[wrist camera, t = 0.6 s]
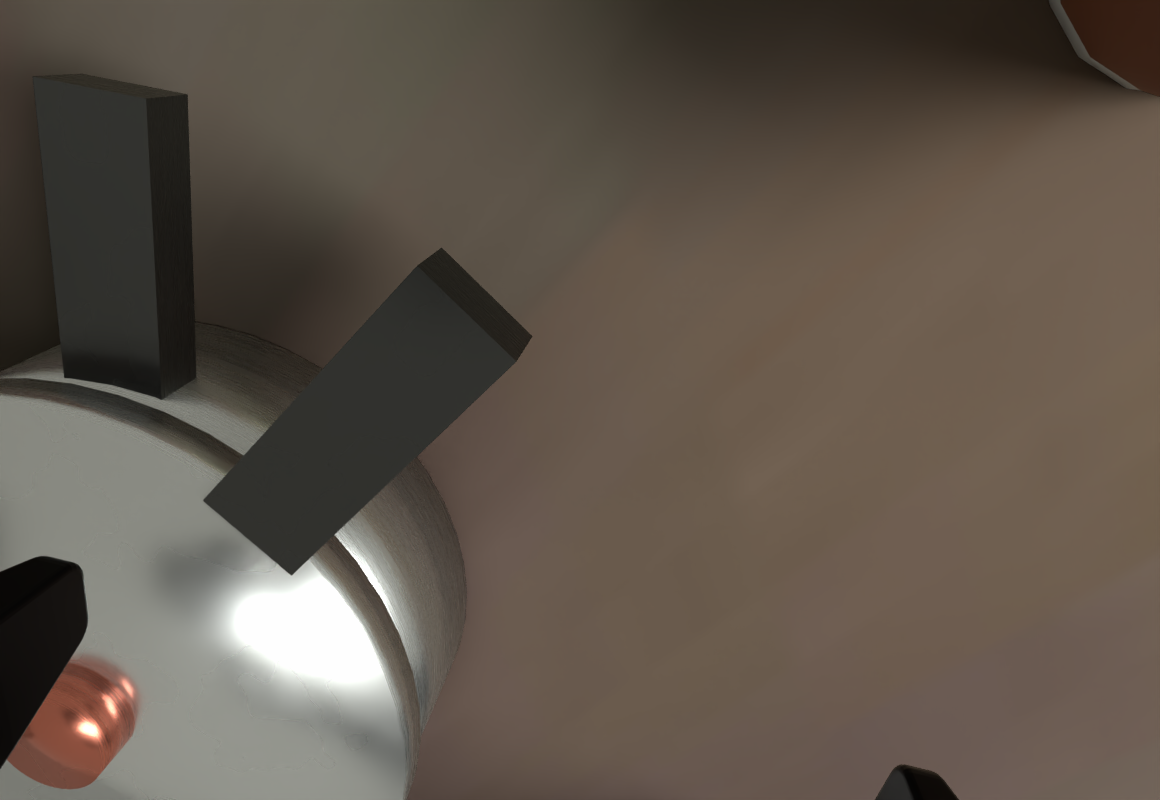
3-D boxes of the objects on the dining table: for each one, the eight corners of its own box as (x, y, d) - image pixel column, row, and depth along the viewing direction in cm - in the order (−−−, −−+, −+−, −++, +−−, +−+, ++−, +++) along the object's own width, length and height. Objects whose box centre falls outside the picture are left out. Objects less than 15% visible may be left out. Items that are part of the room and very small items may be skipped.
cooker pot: (441, 798, 29) (390, 938, 25) (18, 691, 30) (-106, 805, 26) (529, 139, 20) (472, 168, 15) (-87, 20, 21) (-309, 15, 16)
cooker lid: (199, 967, 26) (152, 1050, 24) (-266, 632, 23) (-367, 693, 21) (774, 573, 17) (782, 649, 15) (142, -45, 15) (39, -60, 12)
